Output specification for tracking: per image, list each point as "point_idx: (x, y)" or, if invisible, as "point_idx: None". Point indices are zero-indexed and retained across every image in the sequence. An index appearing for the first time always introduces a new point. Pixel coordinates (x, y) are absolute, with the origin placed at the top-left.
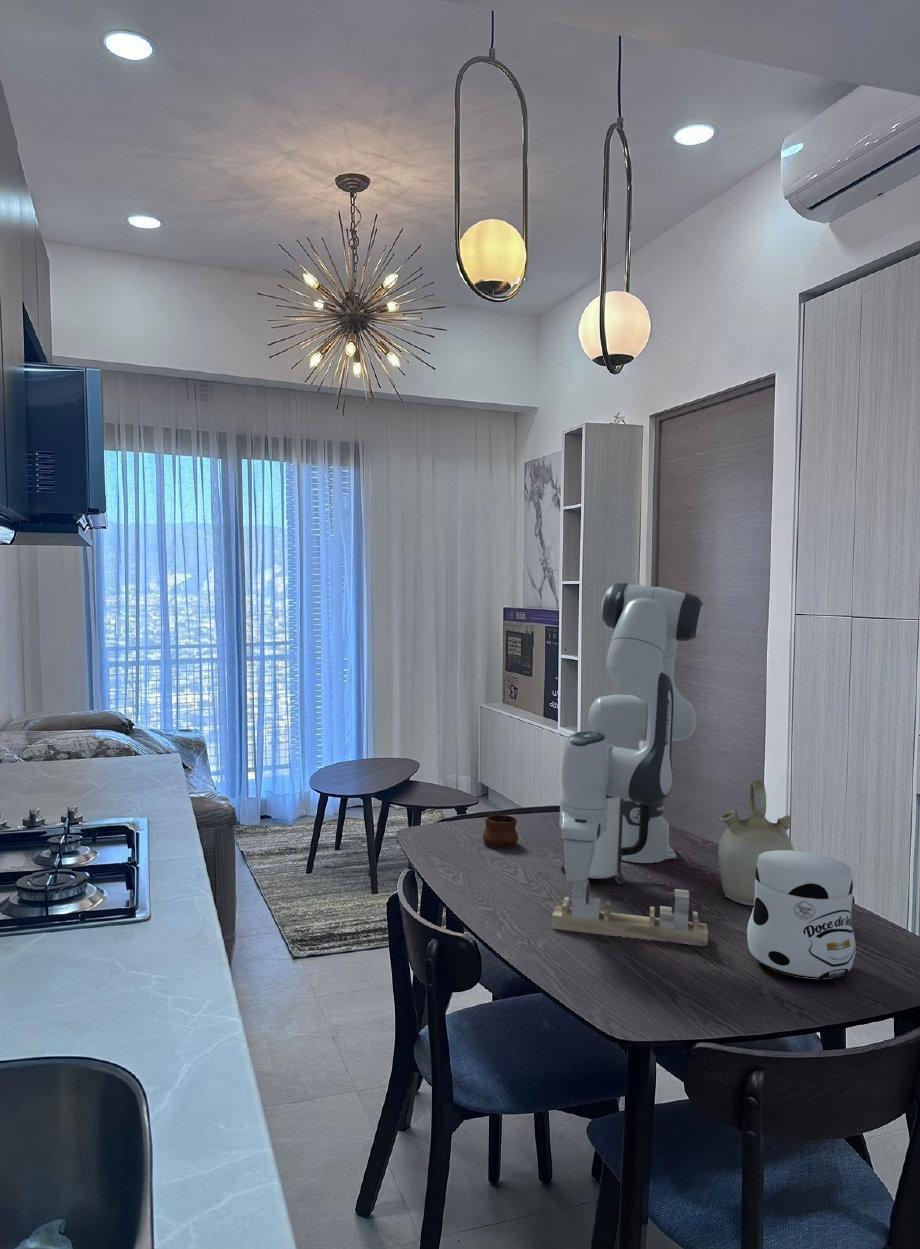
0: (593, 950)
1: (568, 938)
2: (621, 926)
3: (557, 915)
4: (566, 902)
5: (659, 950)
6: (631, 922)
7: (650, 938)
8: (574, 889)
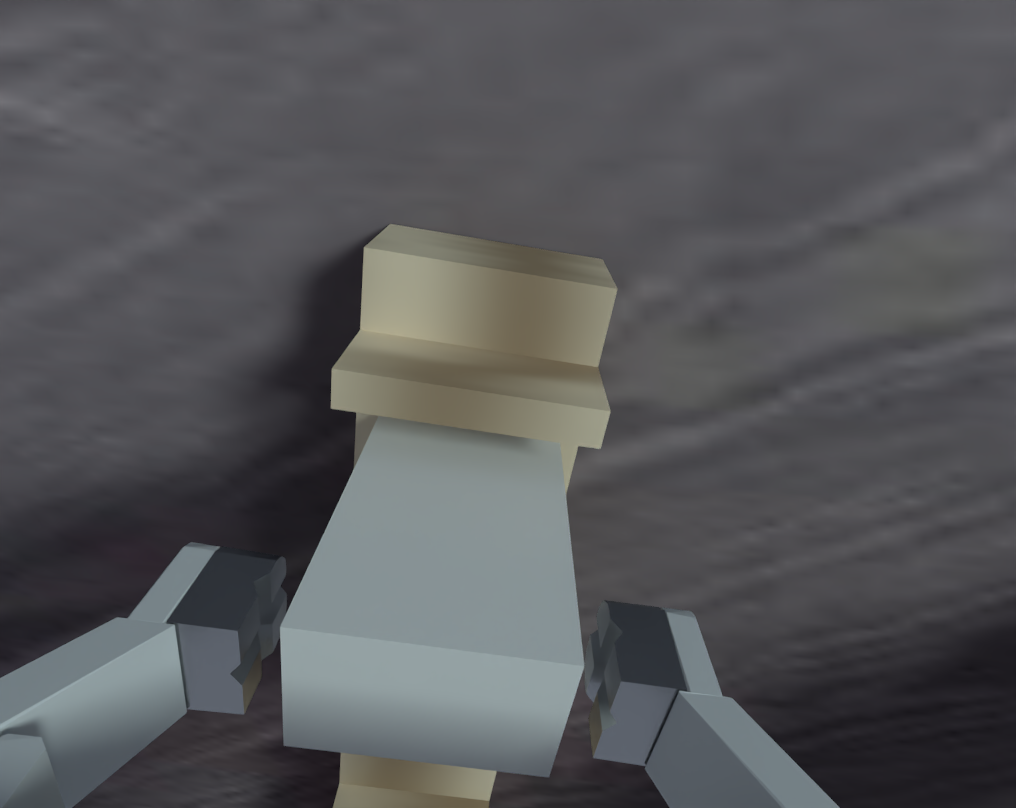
0: (103, 470)
1: (234, 337)
2: None
3: (372, 294)
4: (443, 416)
5: (249, 731)
6: None
7: None
8: (129, 621)
